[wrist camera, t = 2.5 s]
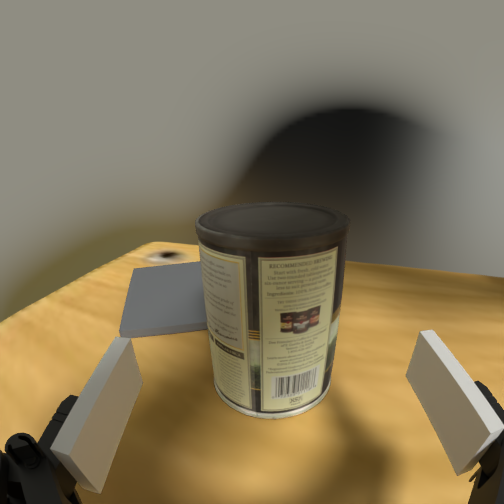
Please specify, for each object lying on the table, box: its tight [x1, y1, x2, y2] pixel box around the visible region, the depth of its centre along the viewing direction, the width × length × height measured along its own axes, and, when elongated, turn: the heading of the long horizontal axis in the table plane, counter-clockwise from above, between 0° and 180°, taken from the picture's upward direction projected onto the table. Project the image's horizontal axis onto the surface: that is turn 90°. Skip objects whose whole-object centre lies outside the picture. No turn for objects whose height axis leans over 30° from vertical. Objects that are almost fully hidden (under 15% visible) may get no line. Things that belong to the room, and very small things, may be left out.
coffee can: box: [195, 202, 350, 419], centre depth 23 cm, size 10×10×14 cm
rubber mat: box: [119, 261, 208, 338], centre depth 40 cm, size 18×18×1 cm
